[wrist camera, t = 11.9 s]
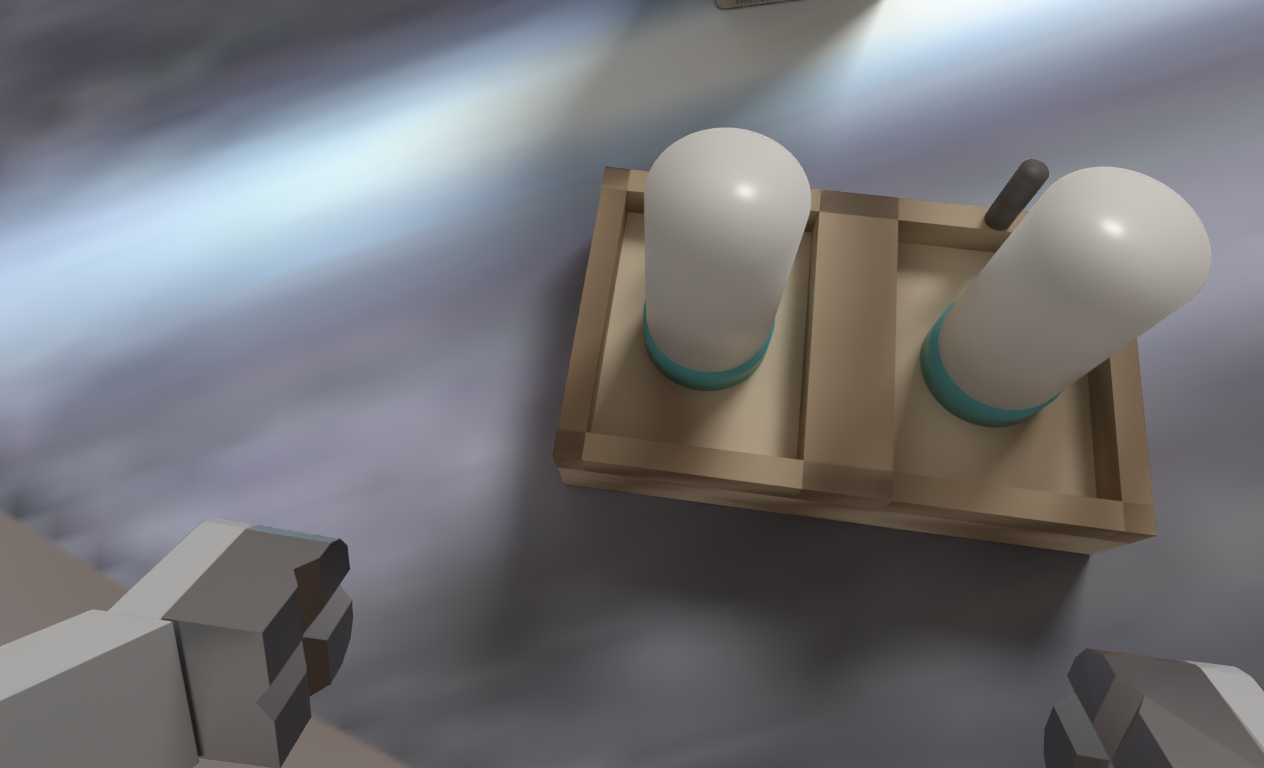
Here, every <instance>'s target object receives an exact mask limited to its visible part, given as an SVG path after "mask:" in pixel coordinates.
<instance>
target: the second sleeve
mask: <svg viewBox="0 0 1264 768" xmlns="http://www.w3.org/2000/svg"><path fill="white" fill-rule="evenodd" d="M1210 266H1211V247H1210V243H1209V238H1208V236H1207V233H1206V230H1205V228H1204V226H1203V224H1202V222H1201V220H1200V219H1199V217H1198V216H1197V214H1196V213H1195V211H1194V210H1193V209H1192V208H1191V207H1190V205H1189V204H1188V203H1187V202H1186V201H1185V200H1184V199H1183V198H1182V197H1181V196H1179V195H1178V194H1177V193H1176V192H1174V191H1173V190H1172V189H1170V188H1169V187H1168V186H1166V185H1164V184H1163V183H1161V182H1159V181H1157V180H1155V179H1153V178H1151V177H1149V176H1147V175H1144V174H1141V173H1138V172H1135V171H1131V170H1127V169H1122V168H1116V167H1092V168H1086V169H1081V170H1078V171H1075V172H1072V173H1070V174H1067V175H1065V176H1063V177H1062V178H1060V179H1058V180H1057V181H1055V182H1054V183H1053V184H1052V185H1051V186H1050V187H1049V188H1048V189H1047V190H1046V191H1045V192H1044V194H1043V195H1042V196H1041V197H1040V199H1039V200H1038V201H1037V202H1036V204H1035V205H1034V206H1033V207H1032V209H1031V210H1030V211H1029V212H1028V213H1027V215H1026V216H1025V217H1024V218H1023V220H1022V221H1021V222H1020V223H1019V225H1018V226H1017V227H1016V228H1015V230H1014V231H1013V232H1012V233H1011V235H1010V236H1009V237H1008V238H1007V239H1006V241H1005V242H1004V243H1003V244H1002V246H1001V247H1000V248H999V249H998V251H997V252H996V253H995V254H994V256H993V257H992V258H991V259H990V261H989V262H988V263H987V264H986V265H985V267H984V268H983V269H982V270H981V272H980V273H979V274H978V275H977V277H976V278H975V279H974V280H973V282H972V283H971V284H970V285H969V286H968V288H967V289H966V290H965V291H964V293H963V294H962V295H961V296H960V298H959V299H958V300H956V301H955V302H953V303H952V304H951V305H950V306H949V307H948V308H947V309H946V311H945V312H944V313H943V314H942V315H941V317H940V318H939V319H938V320H937V322H936V323H935V324H934V325H933V327H932V328H931V329H930V330H929V332H928V334H927V335H926V337H925V339H924V342H923V344H922V348H921V355H920V363H921V370H922V375H923V378H924V380H925V383H926V385H927V387H928V389H929V390H930V392H931V393H932V395H933V396H934V398H935V399H936V400H937V401H938V402H939V403H940V404H941V405H942V406H943V407H944V408H945V409H946V410H948V411H949V412H950V413H952V414H953V415H955V416H956V417H958V418H960V419H962V420H964V421H966V422H969V423H972V424H975V425H979V426H984V427H995V428H996V427H1007V426H1012V425H1015V424H1018V423H1021V422H1023V421H1025V420H1027V419H1028V418H1030V417H1031V416H1032V415H1034V414H1035V413H1037V412H1038V411H1040V410H1041V409H1042V408H1044V407H1045V406H1047V405H1048V404H1050V403H1051V402H1052V401H1054V400H1055V399H1056V398H1057V397H1058V396H1059V395H1060V394H1061V393H1062V392H1063V390H1064V389H1066V388H1067V387H1068V386H1070V385H1071V384H1073V383H1074V382H1075V381H1077V380H1078V379H1080V378H1081V377H1082V376H1084V375H1085V374H1087V373H1088V372H1090V371H1091V370H1092V369H1094V368H1095V367H1097V366H1098V365H1099V364H1101V363H1102V362H1104V361H1105V360H1106V359H1108V358H1109V357H1111V356H1112V355H1114V354H1115V353H1116V352H1118V351H1119V350H1121V349H1122V348H1123V347H1125V346H1126V345H1128V344H1129V343H1130V342H1132V341H1133V340H1135V339H1136V338H1138V337H1139V336H1140V335H1142V334H1143V333H1145V332H1146V331H1147V330H1149V329H1150V328H1152V327H1153V326H1154V325H1156V324H1157V323H1159V322H1160V321H1162V320H1163V319H1164V318H1166V317H1167V316H1169V315H1170V314H1171V313H1173V312H1174V311H1176V310H1177V309H1178V308H1180V307H1181V306H1183V305H1184V304H1186V303H1187V302H1188V301H1190V300H1191V299H1192V298H1193V297H1194V296H1195V295H1196V294H1197V293H1198V292H1199V291H1200V289H1201V288H1202V287H1203V285H1204V283H1205V281H1206V279H1207V277H1208V274H1209V270H1210Z"/></svg>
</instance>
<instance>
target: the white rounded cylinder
mask: <svg viewBox="0 0 1264 768" xmlns="http://www.w3.org/2000/svg"><path fill="white" fill-rule="evenodd" d="M810 208H811V191H810V186H809V182H808V179H807V176H806V174H805V172H804V170H803V168H802V167H801V165H800V164H799V162H798V161H797V160H796V158H795V157H794V156H793V155H792V154H791V153H790V152H789V151H788V150H787V149H785V148H784V147H783V146H782V145H780V144H779V143H777V142H776V141H774V140H772V139H770V138H768V137H767V136H764V135H762V134H759V133H757V132H753V131H749V130H746V129H739V128H726V127H723V128H711V129H706V130H701V131H698V132H694V133H692V134H689V135H687V136H685V137H683V138H681V139H679V140H677V141H676V142H674V143H673V144H672V145H670V146H669V147H668V148H667V149H666V150H664V151H663V152H662V153H661V154H660V156H659V157H658V158H657V159H656V161H655V162H654V164H653V166H652V167H651V169H650V171H649V174H648V176H647V179H646V184H645V190H644V226H645V287H646V299H645V303H644V310H643V326H644V342H645V346H646V349H647V352H648V355H649V357H650V358H651V360H652V362H653V363H654V365H655V366H656V368H657V369H658V370H659V371H660V372H661V373H662V374H663V375H665V376H666V377H667V378H668V379H670V380H671V381H673V382H675V383H677V384H679V385H681V386H683V387H686V388H690V389H694V390H699V391H716V390H722V389H726V388H729V387H732V386H734V385H737V384H739V383H741V382H742V381H744V380H745V379H747V378H748V377H749V376H750V375H751V374H753V373H754V371H755V370H756V369H757V368H758V367H759V365H760V364H761V362H762V361H763V359H764V356H765V354H766V352H767V349H768V346H769V343H770V340H771V337H772V334H773V331H774V325H775V316H776V313H777V310H778V307H779V304H780V301H781V298H782V295H783V292H784V289H785V286H786V283H787V280H788V277H789V274H790V271H791V268H792V265H793V262H794V259H795V256H796V253H797V250H798V247H799V244H800V242H801V239H802V236H803V233H804V230H805V227H806V224H807V220H808V217H809V214H810Z"/></svg>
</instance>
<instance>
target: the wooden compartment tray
mask: <svg viewBox="0 0 1264 768" xmlns="http://www.w3.org/2000/svg"><path fill="white" fill-rule="evenodd" d="M648 174H649V171H641V170H632V169H623V168H613V167H605V172H604V177H603V183H602V188H601V194H600V199H599V205H598V210H597V216H596V221H595V227H594V232H593V238H592V243H591V249H590V254H589V260H588V265H587V271H586V276H585V281H584V287H583V292H582V298H581V303H580V309H579V314H578V320H577V325H576V331H575V336H574V342H573V347H572V353H571V358H570V364H569V369H568V375H567V380H566V385H565V391H564V396H563V402H562V407H561V413H560V418H559V424H558V429H557V435H556V440H555V446H554V451H553V458H554V461H555V463H556V466H557V468H558V471H559V473H560V475H561V478H562V480H563V483H564V484H567V485H574V486H582V487H589V488H597V489H604V490H611V491H619V492H626V493H634V494H641V495H649V496H656V497H664V498H671V499H679V500H686V501H693V502H701V503H708V504H716V505H723V506H731V507H738V508H746V509H753V510H761V511H768V512H776V513H783V514H790V515H798V516H805V517H813V518H820V519H828V520H835V521H843V522H850V523H858V524H865V525H872V526H880V527H887V528H895V529H902V530H910V531H917V532H925V533H932V534H940V535H947V536H955V537H962V538H969V539H977V540H984V541H992V542H999V543H1007V544H1014V545H1022V546H1029V547H1037V548H1044V549H1052V550H1059V551H1066V552H1074V553H1081V554H1089V555H1092V554H1096V553H1099V552H1102V551H1106V550H1109V549H1113V548H1116V547H1119V546H1123V545H1126V544H1130V543H1133V542H1136V541H1140V540H1143V539H1147V538H1150V537H1153V536H1156V526H1155V516H1154V506H1153V496H1152V486H1151V476H1150V466H1149V456H1148V446H1147V436H1146V426H1145V416H1144V406H1143V396H1142V386H1141V376H1140V366H1139V356H1138V346H1137V338H1136V339H1135V340H1133V341H1132V342H1130V343H1129V344H1128V345H1126V346H1125V347H1123V348H1122V349H1121V350H1119V351H1118V352H1116V353H1115V354H1114V355H1112V356H1111V357H1109V358H1108V359H1106V360H1105V361H1104V362H1102V363H1101V364H1099V365H1098V366H1097V367H1095V368H1094V369H1092V370H1091V371H1090V372H1088V373H1087V374H1085V375H1084V376H1082V377H1081V378H1080V379H1078V380H1077V381H1075V382H1074V383H1073V384H1071V385H1070V386H1068V387H1067V388H1066V389H1064V390H1063V392H1062V393H1061V394H1060V395H1059V396H1058V397H1057V398H1056V399H1055V400H1054V401H1052V402H1051V403H1050V404H1048V405H1047V406H1045V407H1044V408H1042V409H1041V410H1040V411H1038V412H1037V413H1035V414H1034V415H1032V416H1031V417H1030V418H1028V419H1027V420H1025V421H1023V422H1021V423H1018V424H1015V425H1012V426H1007V427H996V428H995V427H984V426H979V425H975V424H972V423H969V422H966V421H964V420H962V419H960V418H958V417H956V416H955V415H953V414H952V413H950V412H949V411H948V410H946V409H945V408H944V407H943V406H942V405H941V404H940V403H939V402H938V401H937V400H936V399H935V398H934V396H933V395H932V393H931V392H930V390H929V389H928V387H927V385H926V383H925V380H924V378H923V375H922V370H921V363H920V355H921V348H922V344H923V342H924V339H925V337H926V335H927V334H928V332H929V330H930V329H931V328H932V327H933V325H934V324H935V323H936V322H937V320H938V319H939V318H940V317H941V315H942V314H943V313H944V312H945V311H946V309H947V308H948V307H949V306H950V305H951V304H952V303H953V302H955V301H956V300H958V299H959V298H960V296H961V295H962V294H963V293H964V291H965V290H966V289H967V288H968V286H969V285H970V284H971V283H972V282H973V280H974V279H975V278H976V277H977V275H978V274H979V273H980V272H981V270H982V269H983V268H984V267H985V265H986V264H987V263H988V262H989V261H990V259H991V258H992V257H993V256H994V254H995V253H996V252H997V251H998V249H999V248H1000V247H1001V246H1002V244H1003V243H1004V242H1005V241H1006V239H1007V238H1008V237H1009V236H1010V235H1011V233H1012V232H1013V231H1014V230H1015V228H1016V227H1017V226H1018V225H1019V223H1020V222H1021V221H1022V220H1023V218H1024V217H1025V216H1026V215H1027V213H1028V212H1026V211H1022V210H1023V209H1024V208H1025V207H1026V205H1027V204H1028V203H1029V201H1030V200H1031V199H1032V198H1033V196H1034V195H1035V194H1036V193H1037V191H1038V190H1039V189H1040V188H1041V186H1042V185H1043V184H1044V183H1045V181H1046V180H1047V179H1048V177H1049V170H1048V168H1047V166H1046V165H1045V164H1044V163H1042V162H1041V161H1038V160H1034V159H1030V160H1026V161H1024V162H1023V163H1022V164H1021V165H1020V167H1019V168H1018V169H1017V171H1016V172H1015V173H1014V175H1013V176H1012V178H1011V179H1010V180H1009V182H1008V183H1007V185H1006V186H1005V187H1004V189H1003V190H1002V192H1001V193H1000V194H999V196H998V197H997V199H996V200H995V201H994V203H993V204H992V205H991V207H990V208H988V207H979V206H970V205H960V204H951V203H941V202H932V201H923V200H913V199H904V198H895V197H885V196H876V195H866V194H857V193H848V192H838V191H829V190H820V189H810V191H811V208H810V214H809V217H808V220H807V224H806V227H805V230H804V233H803V236H802V239H801V242H800V244H799V247H798V250H797V253H796V256H795V259H794V262H793V265H792V268H791V271H790V274H789V277H788V280H787V283H786V286H785V289H784V292H783V295H782V298H781V301H780V304H779V307H778V310H777V313H776V316H775V325H774V331H773V334H772V337H771V340H770V343H769V346H768V349H767V352H766V354H765V356H764V359H763V361H762V362H761V364H760V365H759V367H758V368H757V369H756V370H755V371H754V373H753V374H751V375H750V376H749V377H748V378H747V379H745V380H744V381H742V382H741V383H739V384H737V385H734V386H732V387H729V388H726V389H722V390H716V391H699V390H694V389H690V388H686V387H683V386H681V385H679V384H677V383H675V382H673V381H671V380H670V379H668V378H667V377H666V376H665V375H663V374H662V373H661V372H660V371H659V370H658V369H657V368H656V366H655V365H654V363H653V362H652V360H651V358H650V357H649V355H648V352H647V349H646V346H645V342H644V326H643V310H644V303H645V299H646V287H645V226H644V190H645V184H646V179H647V176H648Z"/></svg>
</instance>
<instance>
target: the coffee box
mask: <svg viewBox="0 0 1264 768" xmlns="http://www.w3.org/2000/svg"><path fill="white" fill-rule="evenodd" d="M715 1H716V4H717V6H718V7H720V8H722V9H725V8H733V7H741V6H749V5H756V4H764V3H773V2H781V1H790V0H715Z"/></svg>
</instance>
